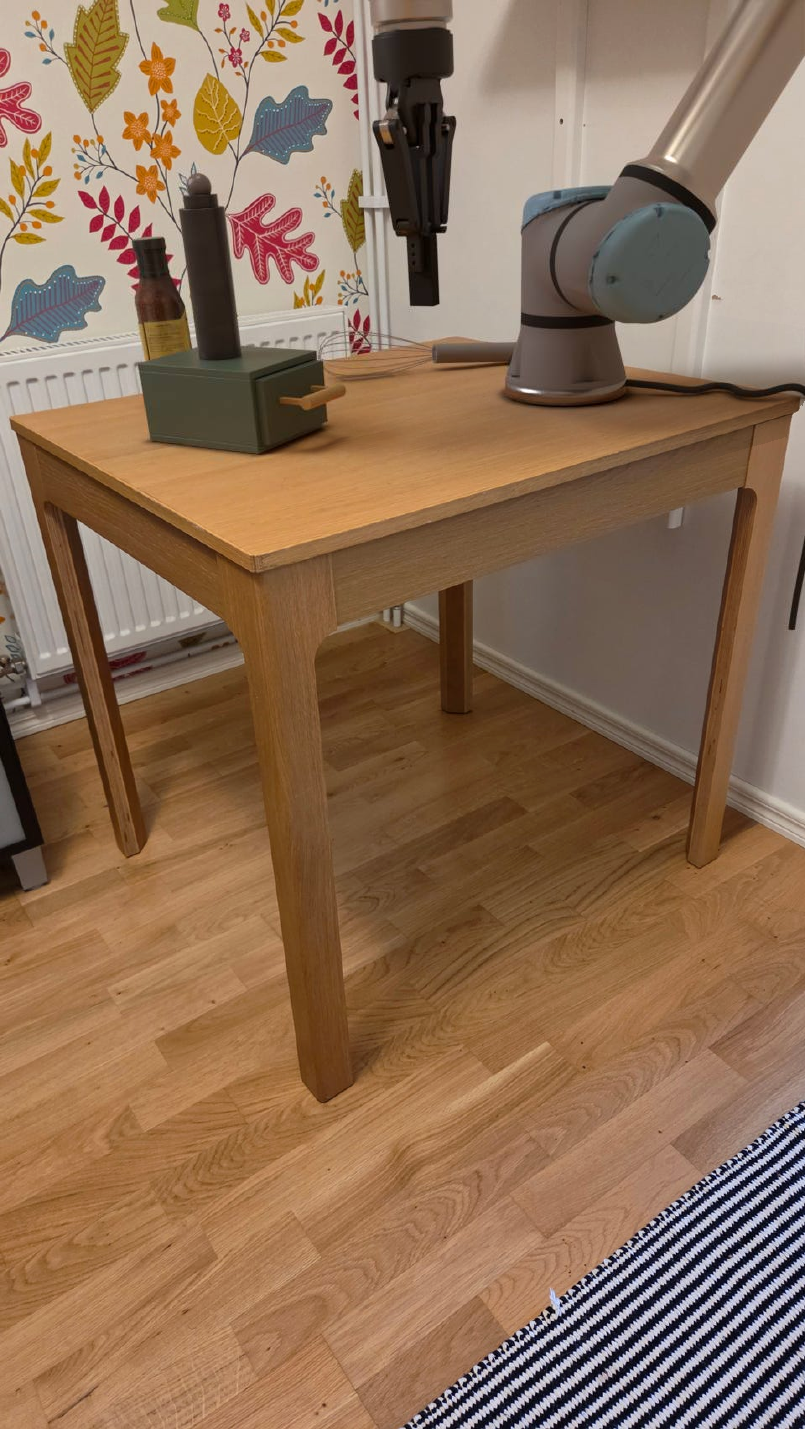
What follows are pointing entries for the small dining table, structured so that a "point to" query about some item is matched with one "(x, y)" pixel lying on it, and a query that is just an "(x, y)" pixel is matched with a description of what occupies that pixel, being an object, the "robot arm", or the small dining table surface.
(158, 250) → the sauce bottle
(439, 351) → the kitchen whisk
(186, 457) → the small dining table surface
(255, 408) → the cabinet
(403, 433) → the small dining table surface
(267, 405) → the drawer
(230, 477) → the small dining table surface
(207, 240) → the pepper mill
